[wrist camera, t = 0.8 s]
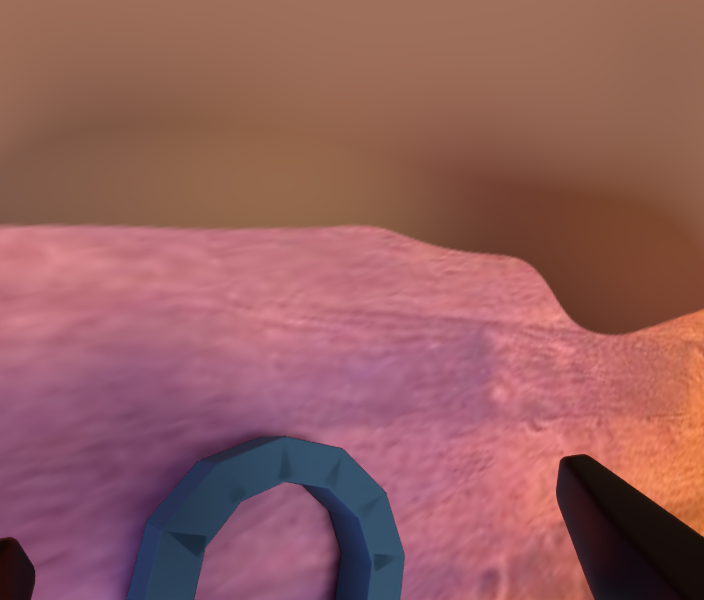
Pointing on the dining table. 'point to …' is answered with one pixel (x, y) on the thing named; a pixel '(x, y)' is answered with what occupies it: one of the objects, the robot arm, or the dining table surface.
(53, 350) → the dining table surface
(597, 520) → the robot arm
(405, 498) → the dining table surface
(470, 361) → the dining table surface
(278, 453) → the blue ring
